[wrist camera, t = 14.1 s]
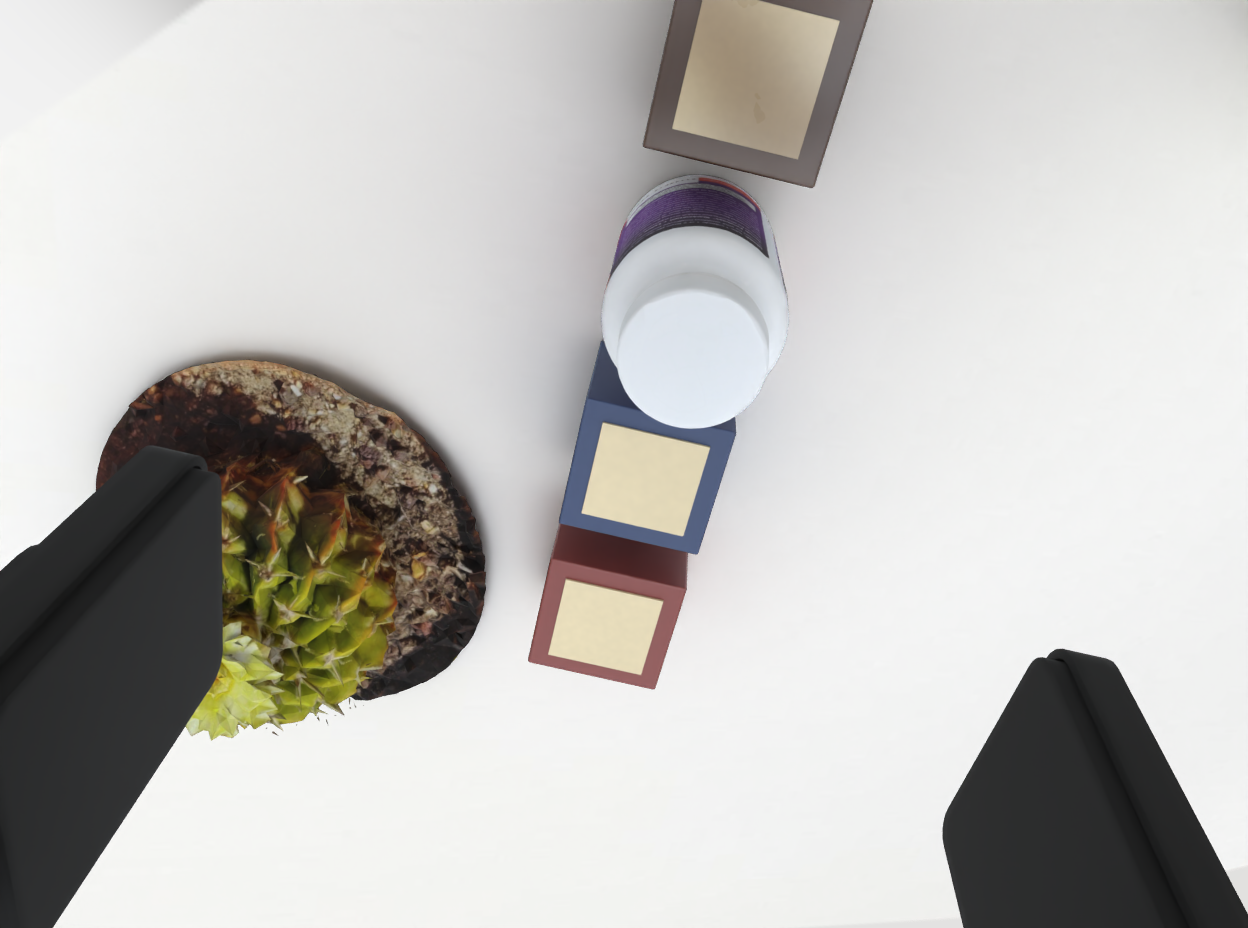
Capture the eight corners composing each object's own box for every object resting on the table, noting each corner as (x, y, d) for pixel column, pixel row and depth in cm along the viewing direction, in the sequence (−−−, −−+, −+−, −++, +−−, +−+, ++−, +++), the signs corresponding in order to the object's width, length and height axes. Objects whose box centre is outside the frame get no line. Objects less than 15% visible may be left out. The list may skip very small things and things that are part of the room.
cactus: (546, 658, 43) (505, 838, 34) (237, 718, 46) (130, 896, 38) (389, 304, 35) (287, 424, 27) (32, 407, 38) (-160, 543, 30)
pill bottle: (589, 226, 33) (548, 328, 25) (724, 140, 31) (730, 218, 23) (671, 350, 35) (659, 485, 27) (802, 276, 33) (834, 394, 25)
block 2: (568, 486, 38) (550, 559, 34) (689, 514, 39) (687, 590, 34) (546, 584, 41) (526, 664, 36) (660, 610, 41) (654, 692, 37)
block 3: (689, -54, 29) (685, -50, 24) (849, -13, 29) (875, -2, 25) (651, 117, 31) (641, 148, 27) (799, 153, 31) (814, 190, 27)
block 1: (601, 339, 35) (585, 398, 31) (733, 370, 35) (736, 434, 31) (575, 455, 38) (557, 525, 33) (699, 483, 38) (697, 557, 33)
